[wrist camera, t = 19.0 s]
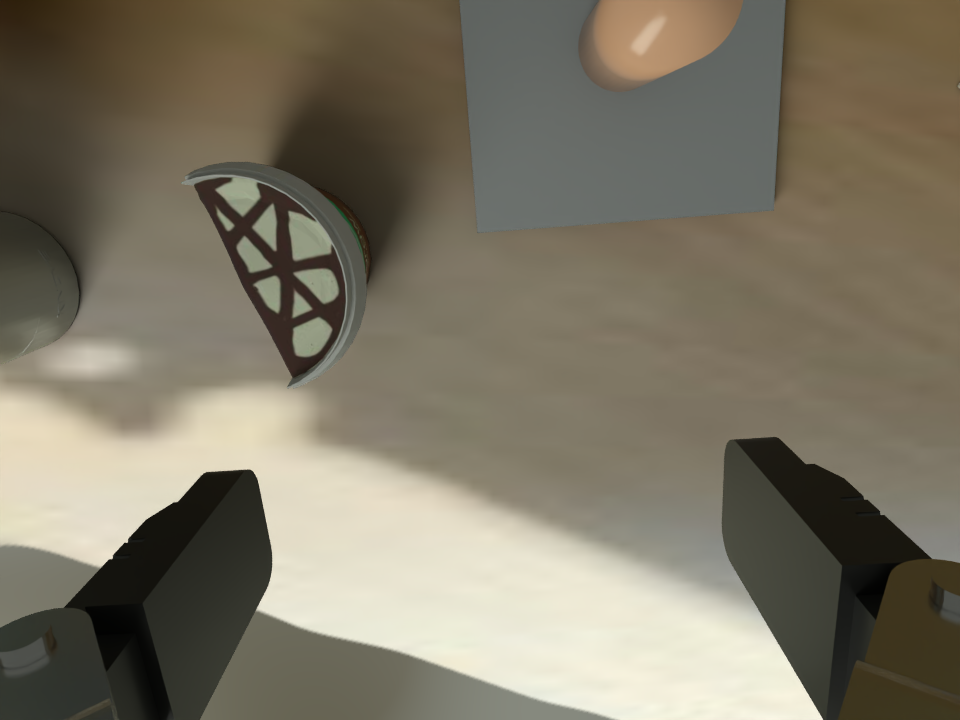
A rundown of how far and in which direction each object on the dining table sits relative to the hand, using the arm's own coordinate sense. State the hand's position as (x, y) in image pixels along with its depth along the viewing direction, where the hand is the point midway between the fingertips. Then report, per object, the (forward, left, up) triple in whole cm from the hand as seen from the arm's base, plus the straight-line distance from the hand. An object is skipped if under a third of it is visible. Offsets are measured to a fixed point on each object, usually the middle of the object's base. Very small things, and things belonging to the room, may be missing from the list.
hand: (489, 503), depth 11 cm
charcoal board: (+8, +11, -32) cm, 35 cm away
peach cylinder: (+8, +11, -31) cm, 34 cm away
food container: (-10, +1, -32) cm, 34 cm away
